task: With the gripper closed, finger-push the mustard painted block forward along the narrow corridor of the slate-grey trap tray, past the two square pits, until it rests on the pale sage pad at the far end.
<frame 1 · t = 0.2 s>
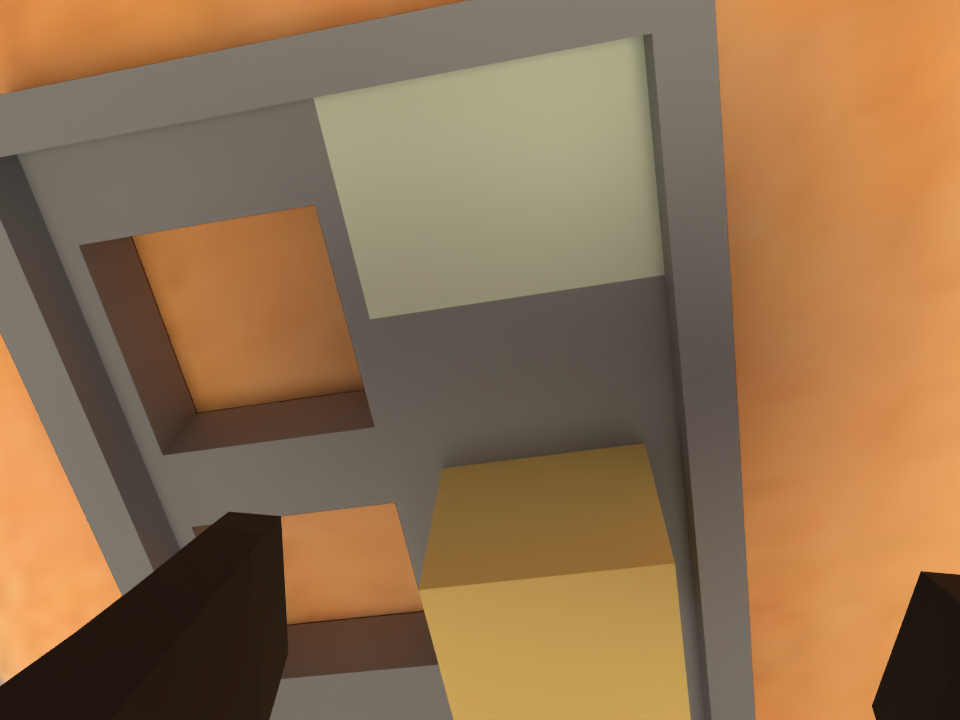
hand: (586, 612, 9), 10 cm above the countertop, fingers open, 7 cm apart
block: (555, 538, 18), point 2 cm above the countertop, touching trap tray
trap tray: (426, 454, 20), on the countertop
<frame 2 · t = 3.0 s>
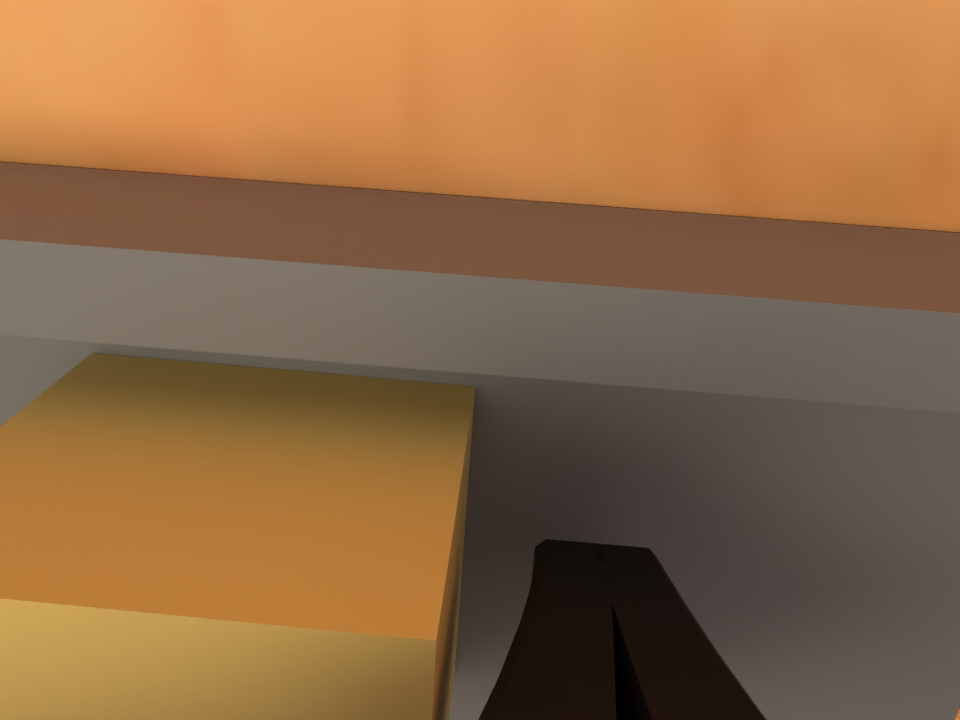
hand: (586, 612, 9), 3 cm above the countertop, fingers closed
block: (288, 528, 10), point 2 cm above the countertop, touching gripper
trap tray: (275, 599, 13), on the countertop
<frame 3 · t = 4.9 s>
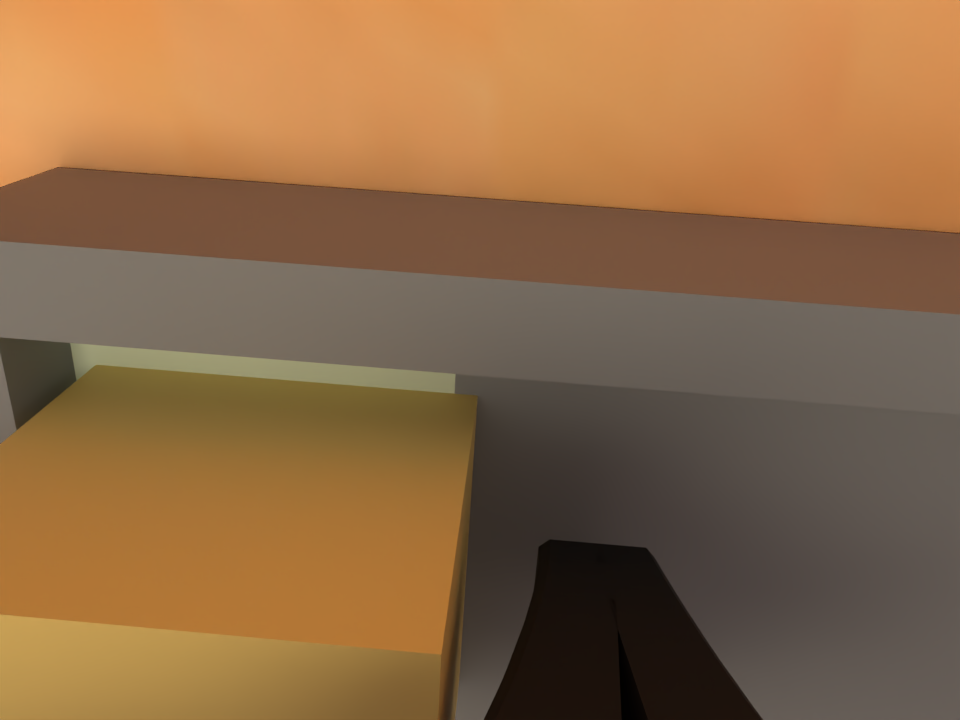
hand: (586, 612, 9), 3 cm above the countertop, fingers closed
block: (292, 537, 10), point 2 cm above the countertop, touching gripper, trap tray
trap tray: (723, 641, 13), on the countertop
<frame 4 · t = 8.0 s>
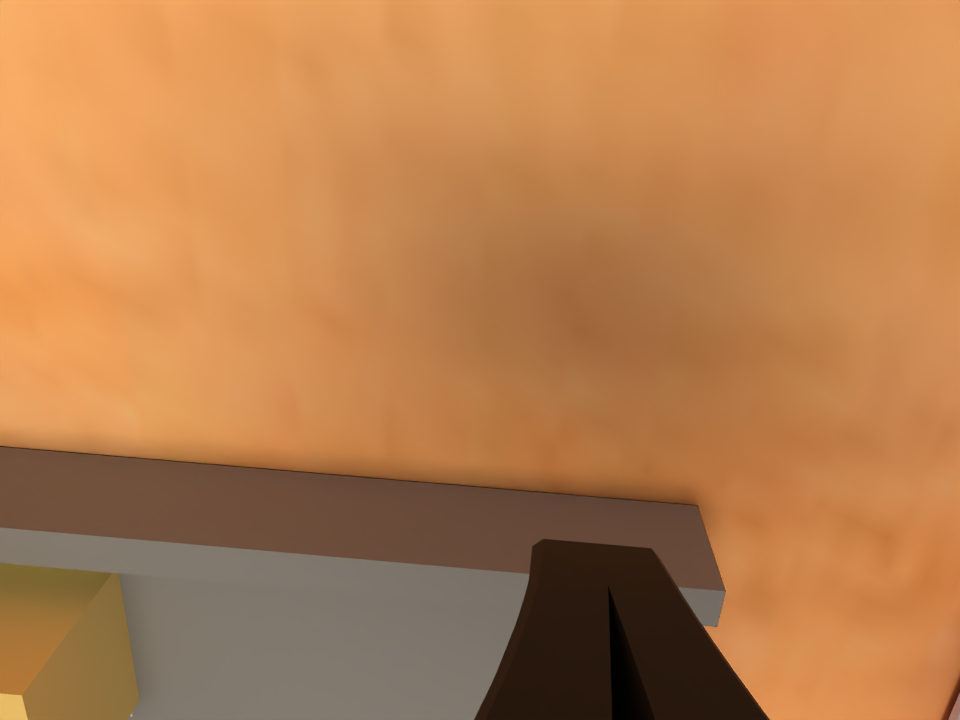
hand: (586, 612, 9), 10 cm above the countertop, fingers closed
block: (43, 627, 20), point 2 cm above the countertop, touching trap tray
trap tray: (314, 675, 23), on the countertop
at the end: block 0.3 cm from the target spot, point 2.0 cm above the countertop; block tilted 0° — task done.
